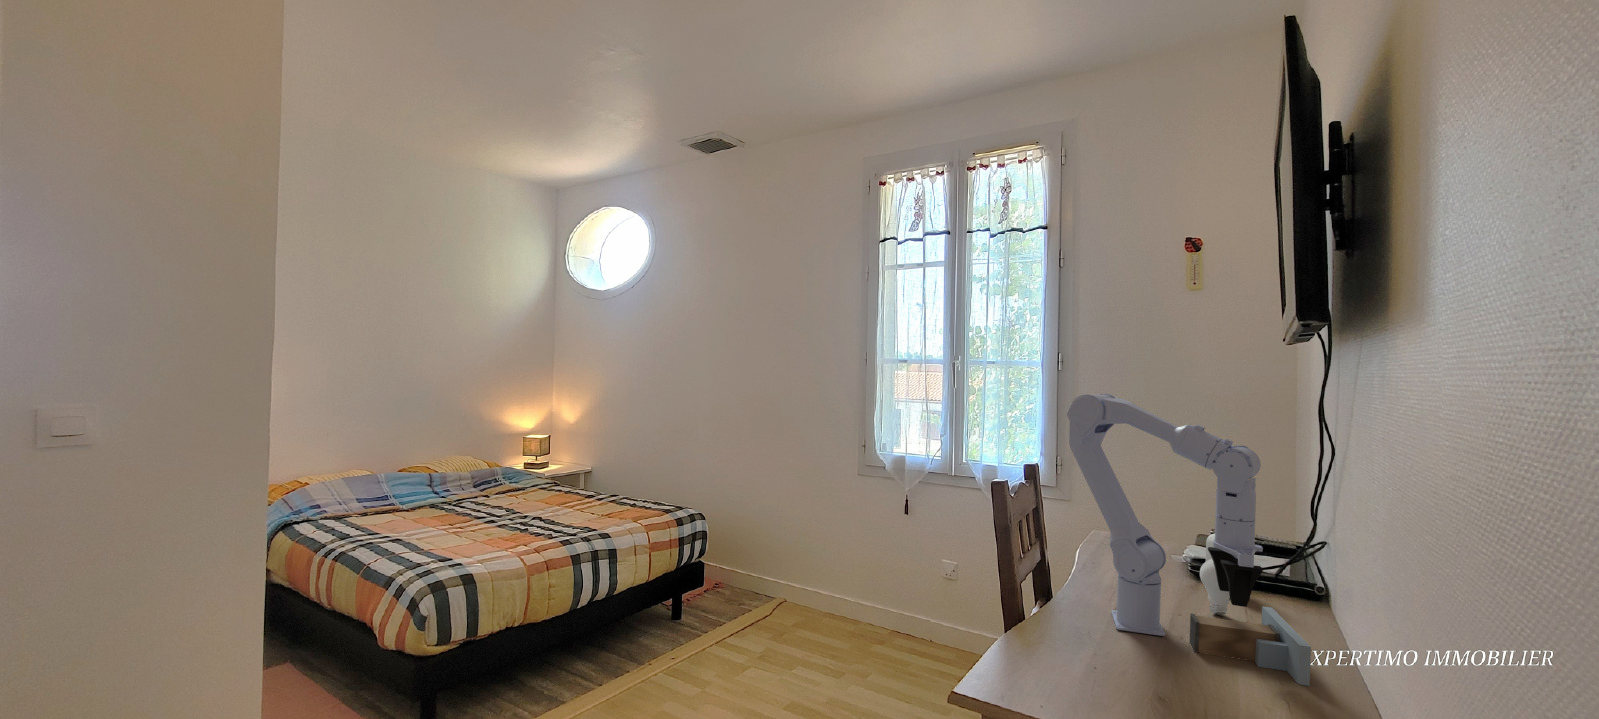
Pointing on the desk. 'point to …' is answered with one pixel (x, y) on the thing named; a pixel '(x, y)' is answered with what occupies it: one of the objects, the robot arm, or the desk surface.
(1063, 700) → the desk surface
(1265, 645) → the grey footed slab
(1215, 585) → the light bulb
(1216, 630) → the half pipe ramp
